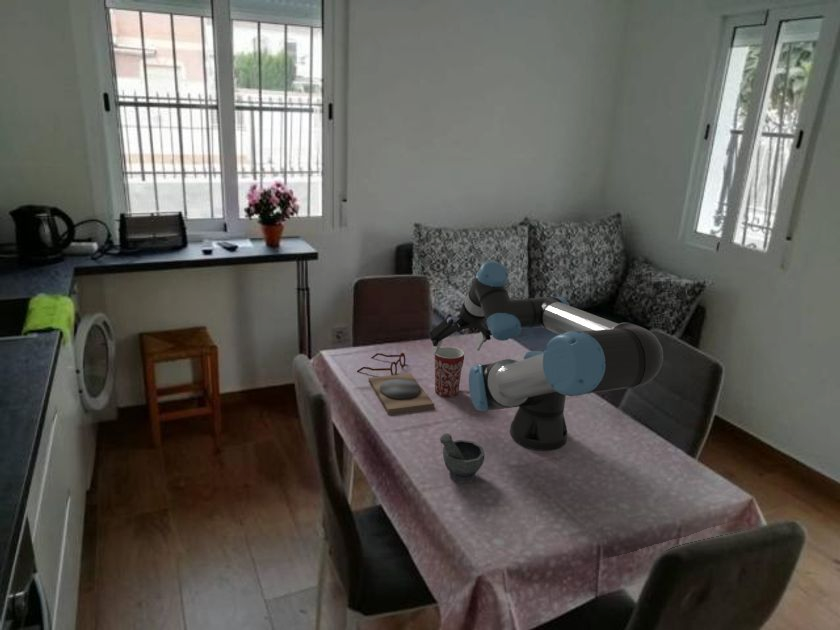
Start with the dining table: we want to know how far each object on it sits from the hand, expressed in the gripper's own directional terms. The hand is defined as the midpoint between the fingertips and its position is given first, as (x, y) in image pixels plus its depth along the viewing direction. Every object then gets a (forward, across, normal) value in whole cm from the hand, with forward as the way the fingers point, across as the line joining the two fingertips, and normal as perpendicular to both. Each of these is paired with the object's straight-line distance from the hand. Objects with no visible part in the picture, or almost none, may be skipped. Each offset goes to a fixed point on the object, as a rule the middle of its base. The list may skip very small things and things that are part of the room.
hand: (455, 348), depth 180 cm
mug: (+14, 0, +6) cm, 16 cm away
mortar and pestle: (-11, +14, +42) cm, 46 cm away
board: (+15, +16, +6) cm, 22 cm away
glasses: (+28, +16, -11) cm, 34 cm away
